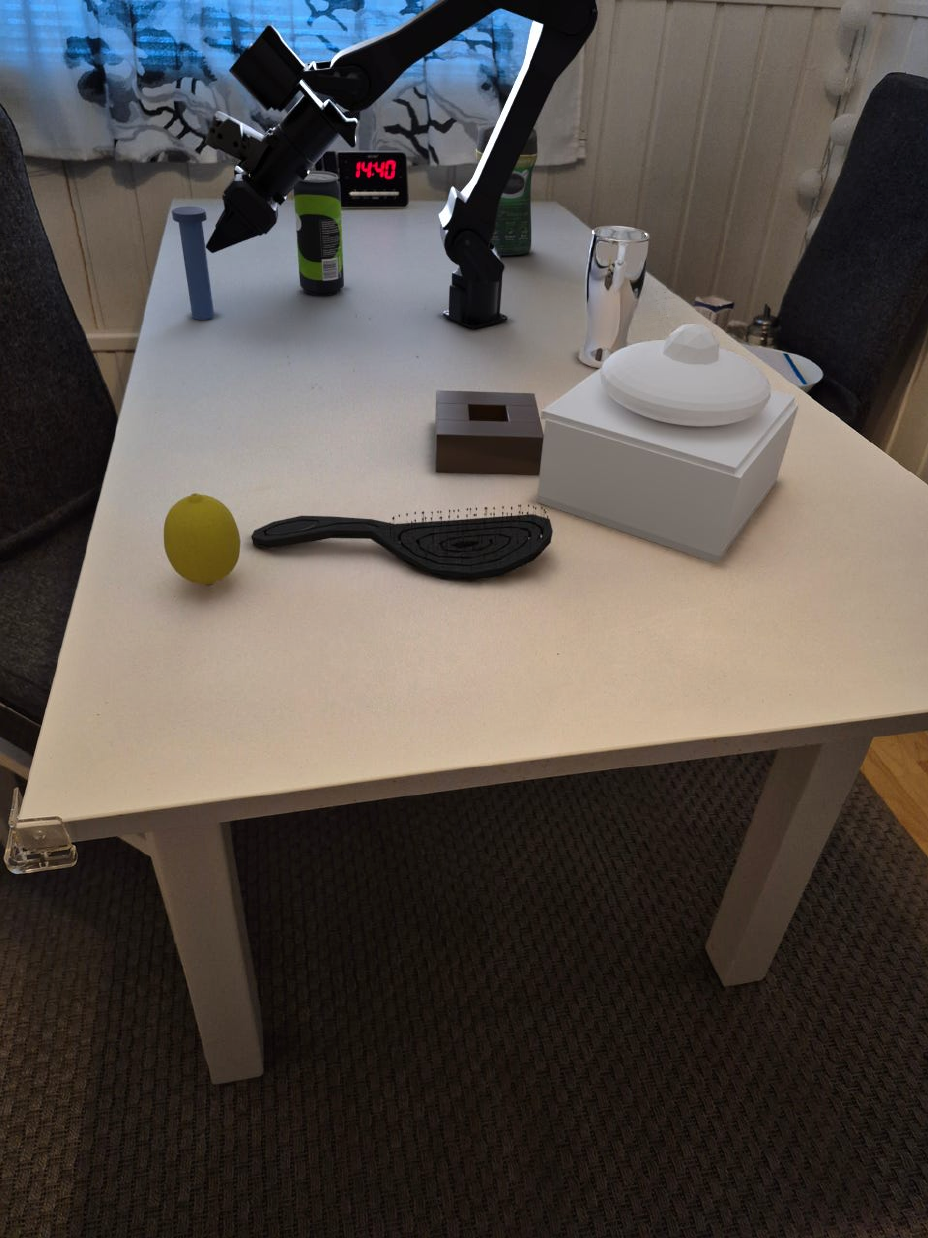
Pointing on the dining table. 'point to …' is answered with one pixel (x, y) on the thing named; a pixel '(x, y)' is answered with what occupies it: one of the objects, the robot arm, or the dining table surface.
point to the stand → (487, 432)
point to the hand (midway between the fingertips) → (213, 239)
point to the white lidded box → (668, 443)
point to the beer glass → (612, 289)
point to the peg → (195, 260)
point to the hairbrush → (429, 541)
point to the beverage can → (319, 233)
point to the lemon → (201, 539)
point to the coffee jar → (513, 198)
